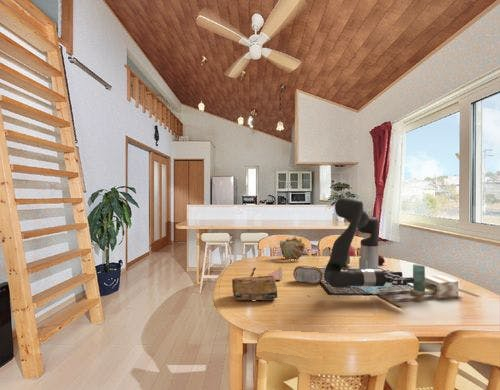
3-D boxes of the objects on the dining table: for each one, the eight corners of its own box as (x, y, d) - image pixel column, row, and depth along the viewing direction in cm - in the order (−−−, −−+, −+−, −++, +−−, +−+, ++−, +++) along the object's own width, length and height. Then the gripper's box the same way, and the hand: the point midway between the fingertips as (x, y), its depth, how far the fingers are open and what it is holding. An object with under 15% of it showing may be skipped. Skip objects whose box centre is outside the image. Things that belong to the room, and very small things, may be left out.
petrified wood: (233, 304, 110) (232, 279, 112) (232, 299, 123) (231, 277, 125) (279, 300, 112) (277, 275, 115) (273, 296, 125) (271, 274, 127)
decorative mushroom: (331, 266, 172) (330, 243, 173) (337, 262, 184) (337, 240, 184) (352, 269, 165) (352, 245, 165) (357, 264, 176) (357, 242, 176)
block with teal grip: (419, 297, 114) (419, 267, 114) (410, 293, 118) (409, 264, 119) (450, 295, 117) (450, 265, 117) (440, 291, 122) (439, 262, 122)
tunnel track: (398, 307, 107) (397, 287, 107) (376, 296, 120) (376, 278, 120) (481, 299, 115) (480, 281, 115) (452, 289, 128) (452, 273, 128)
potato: (372, 262, 183) (372, 253, 183) (385, 264, 178) (385, 255, 178) (369, 264, 178) (369, 255, 178) (383, 266, 172) (383, 257, 173)
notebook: (282, 282, 141) (282, 278, 141) (250, 281, 143) (250, 277, 143) (281, 269, 168) (281, 265, 168) (255, 268, 170) (255, 265, 170)
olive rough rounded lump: (306, 235, 185) (300, 235, 200) (281, 236, 184) (277, 237, 199) (308, 261, 182) (302, 259, 197) (283, 263, 181) (279, 261, 196)
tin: (322, 283, 138) (322, 267, 138) (322, 285, 135) (322, 268, 135) (293, 280, 143) (293, 264, 143) (292, 282, 140) (292, 266, 140)
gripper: (379, 273, 109) (418, 273, 109) (363, 264, 123) (398, 264, 124) (379, 291, 109) (418, 291, 109) (363, 281, 123) (398, 280, 124)
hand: (407, 277), depth 117 cm, fingers open, 8 cm apart
